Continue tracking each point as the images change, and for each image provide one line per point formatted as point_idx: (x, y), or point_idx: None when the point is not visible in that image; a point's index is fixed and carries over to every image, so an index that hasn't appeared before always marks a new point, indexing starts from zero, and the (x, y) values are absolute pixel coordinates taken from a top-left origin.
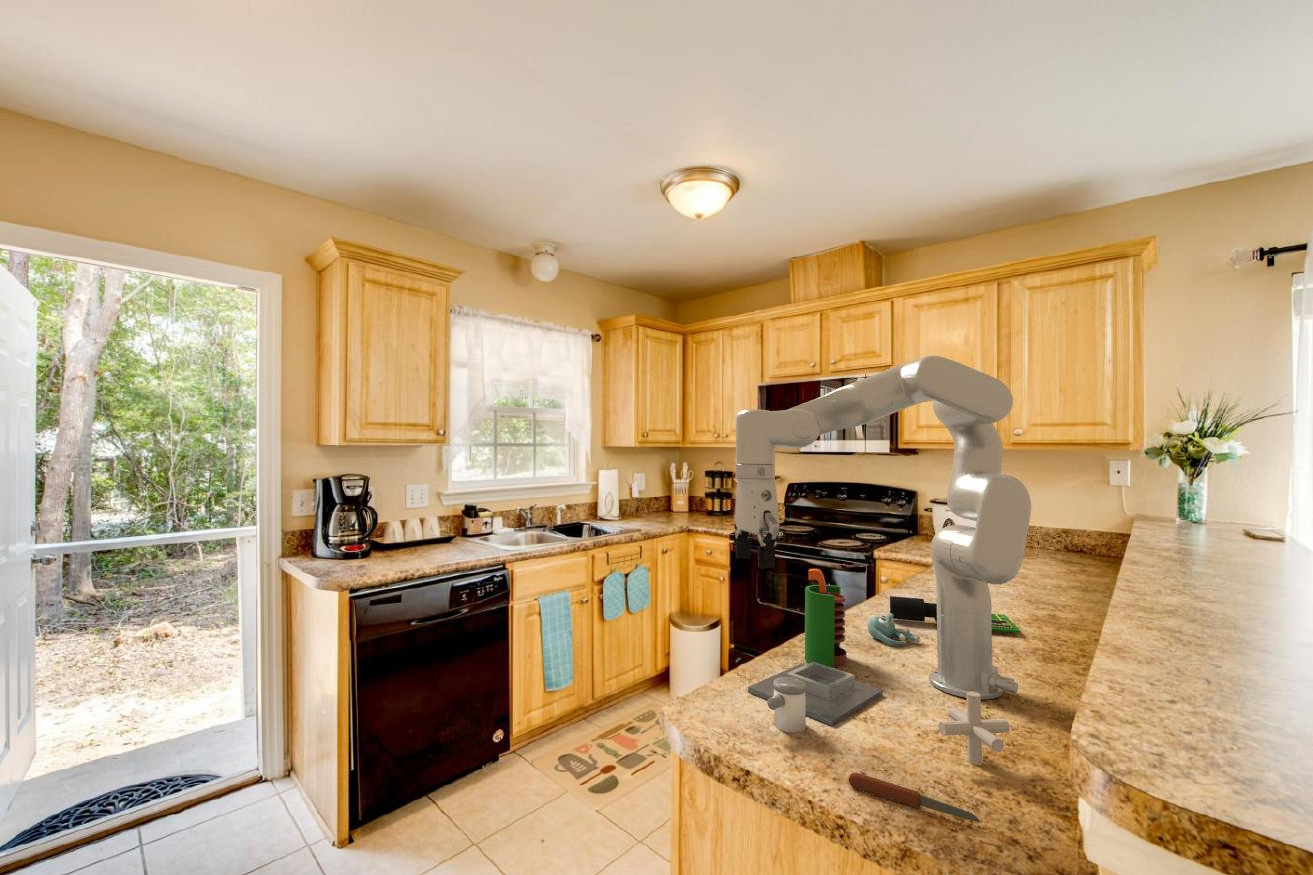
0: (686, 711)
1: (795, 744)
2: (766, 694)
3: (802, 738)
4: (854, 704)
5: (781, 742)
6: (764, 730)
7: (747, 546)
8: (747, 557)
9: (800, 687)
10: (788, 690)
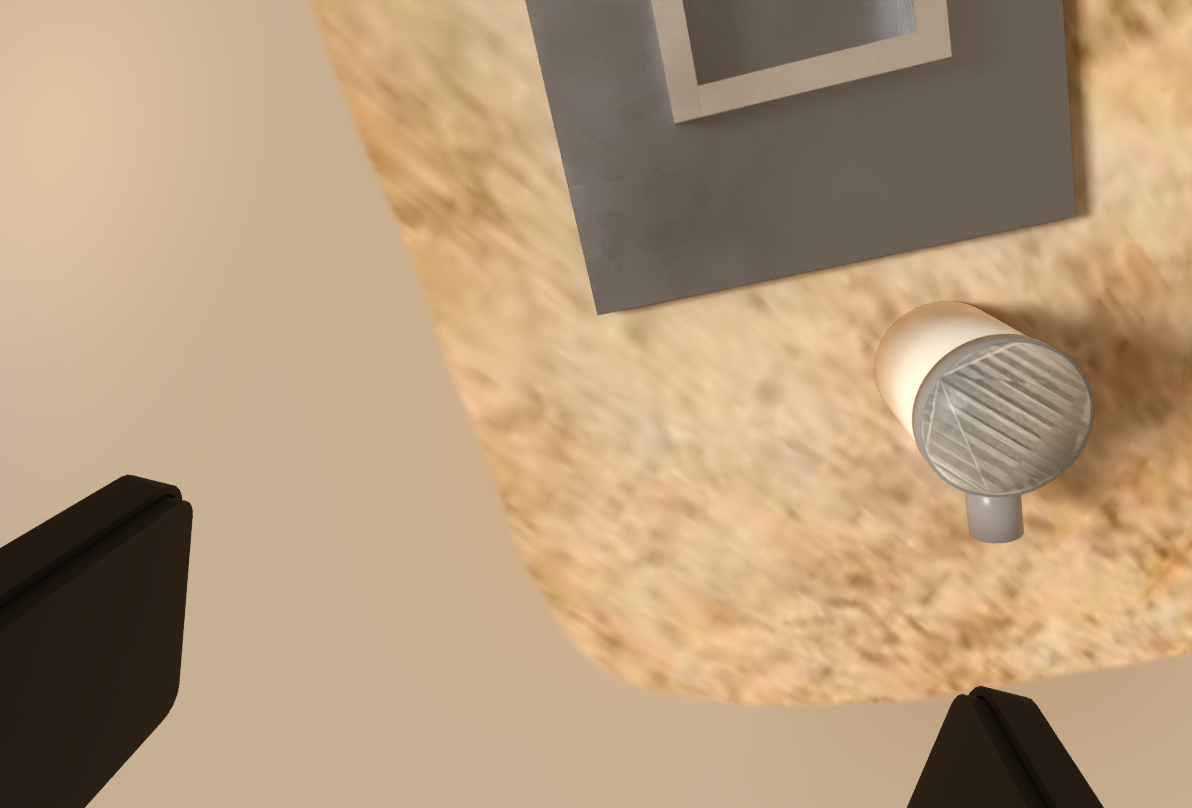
0: (621, 621)
1: None
2: (706, 292)
3: None
4: None
5: None
6: (908, 477)
7: (46, 673)
8: (185, 560)
9: (1077, 409)
10: (1054, 477)
